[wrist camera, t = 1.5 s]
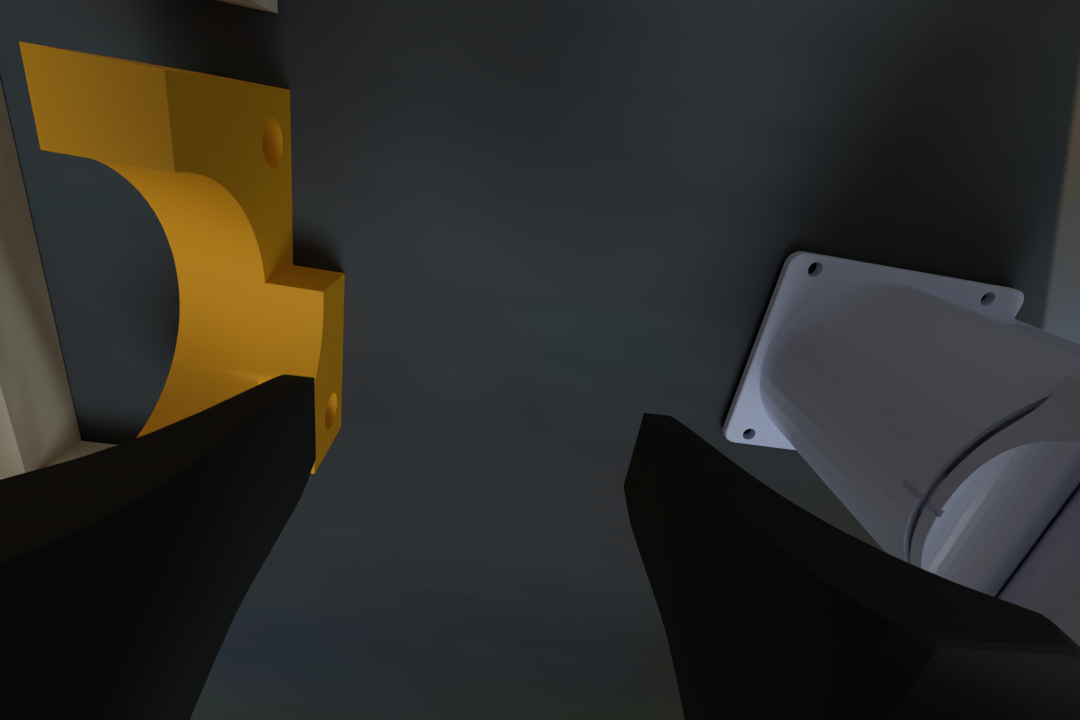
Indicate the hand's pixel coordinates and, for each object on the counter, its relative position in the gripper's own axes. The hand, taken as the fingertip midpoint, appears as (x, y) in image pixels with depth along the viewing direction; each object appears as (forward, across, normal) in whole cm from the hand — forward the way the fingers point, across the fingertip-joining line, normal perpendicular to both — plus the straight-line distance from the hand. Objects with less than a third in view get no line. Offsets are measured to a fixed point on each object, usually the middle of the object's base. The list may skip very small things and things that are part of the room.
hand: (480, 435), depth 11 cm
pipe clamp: (+9, +7, 0) cm, 12 cm away
